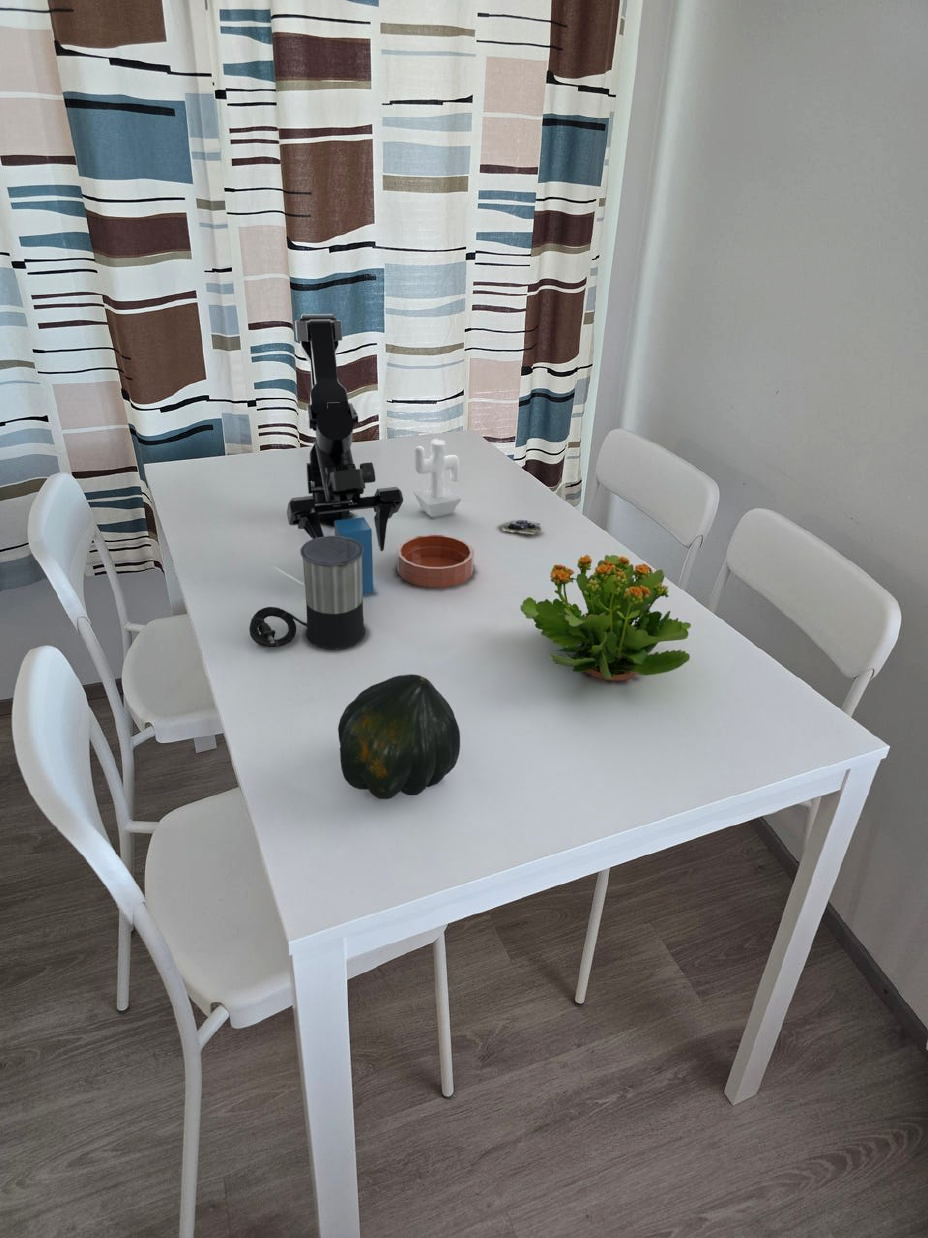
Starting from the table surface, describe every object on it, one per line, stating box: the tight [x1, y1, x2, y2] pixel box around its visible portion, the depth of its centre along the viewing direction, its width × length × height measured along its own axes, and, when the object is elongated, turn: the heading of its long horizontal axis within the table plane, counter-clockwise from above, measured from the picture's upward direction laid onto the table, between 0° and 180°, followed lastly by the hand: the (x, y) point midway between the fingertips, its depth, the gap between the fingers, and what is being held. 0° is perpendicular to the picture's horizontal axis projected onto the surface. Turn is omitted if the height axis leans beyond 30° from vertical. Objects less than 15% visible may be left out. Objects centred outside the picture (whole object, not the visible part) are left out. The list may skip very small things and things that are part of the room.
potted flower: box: [520, 554, 692, 682], centre depth 123 cm, size 25×24×18 cm
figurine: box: [412, 438, 462, 518], centre depth 170 cm, size 7×9×15 cm
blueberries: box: [500, 519, 542, 536], centre depth 167 cm, size 7×8×2 cm
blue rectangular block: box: [334, 516, 374, 595], centre depth 142 cm, size 5×5×12 cm
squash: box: [337, 674, 461, 800], centre depth 102 cm, size 14×15×15 cm
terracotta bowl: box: [396, 534, 475, 589], centre depth 151 cm, size 13×13×4 cm
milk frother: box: [248, 535, 367, 650], centre depth 128 cm, size 14×16×15 cm
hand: (355, 554), depth 141 cm, fingers open, 9 cm apart
